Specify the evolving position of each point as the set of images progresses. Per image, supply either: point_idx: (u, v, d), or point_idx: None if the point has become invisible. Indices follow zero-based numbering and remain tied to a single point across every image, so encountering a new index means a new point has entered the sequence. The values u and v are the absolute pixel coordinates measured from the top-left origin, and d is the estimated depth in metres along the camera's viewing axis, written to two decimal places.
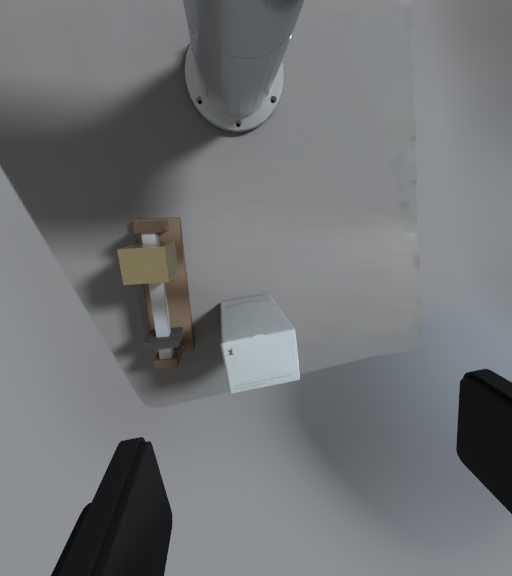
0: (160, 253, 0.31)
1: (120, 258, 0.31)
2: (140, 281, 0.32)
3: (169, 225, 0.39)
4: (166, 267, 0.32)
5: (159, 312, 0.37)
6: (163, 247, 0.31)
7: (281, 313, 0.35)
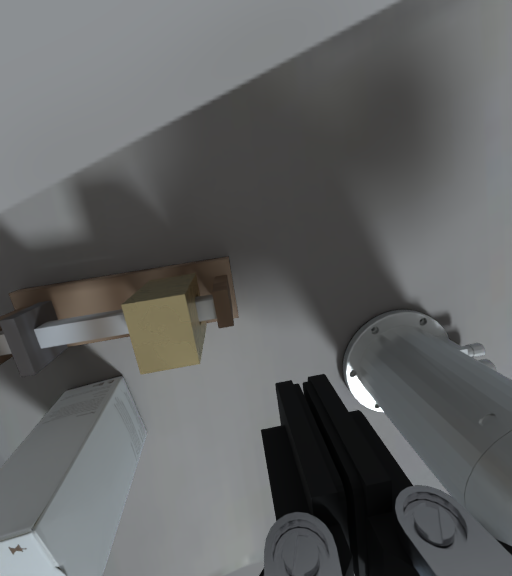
0: (187, 359, 0.19)
1: (169, 299, 0.18)
2: (133, 331, 0.18)
3: None
4: (165, 368, 0.19)
5: (84, 331, 0.22)
6: (198, 362, 0.19)
7: (118, 522, 0.23)
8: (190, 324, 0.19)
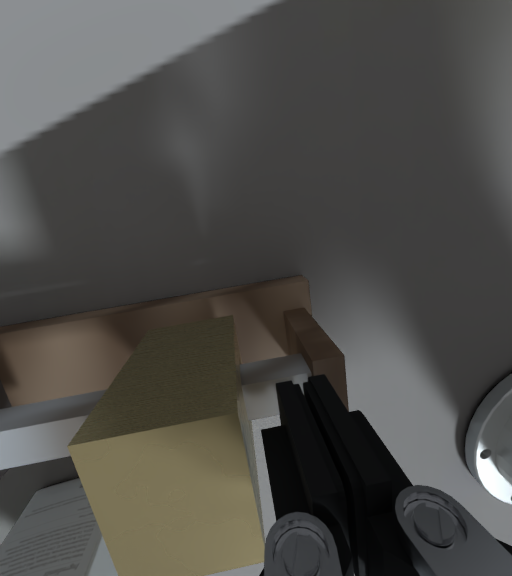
0: (239, 554, 0.08)
1: (197, 427, 0.07)
2: (103, 506, 0.07)
3: None
4: (184, 574, 0.08)
5: (49, 442, 0.11)
6: (263, 557, 0.08)
7: None
8: (249, 480, 0.07)
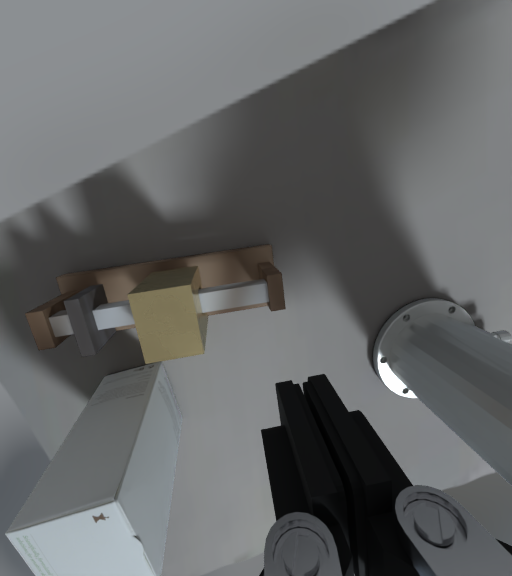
0: (192, 349, 0.20)
1: (175, 290, 0.18)
2: (139, 321, 0.19)
3: None
4: (170, 358, 0.20)
5: None
6: (202, 352, 0.20)
7: (170, 500, 0.23)
8: (195, 314, 0.19)
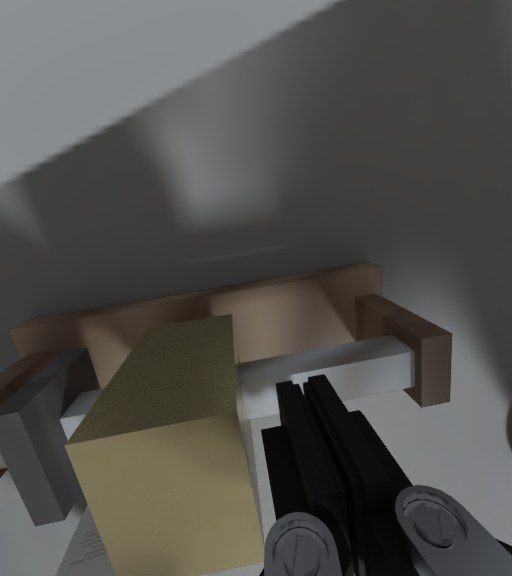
0: (238, 554, 0.08)
1: (196, 426, 0.07)
2: (101, 505, 0.07)
3: None
4: (183, 574, 0.08)
5: None
6: (262, 556, 0.08)
7: None
8: (248, 480, 0.07)
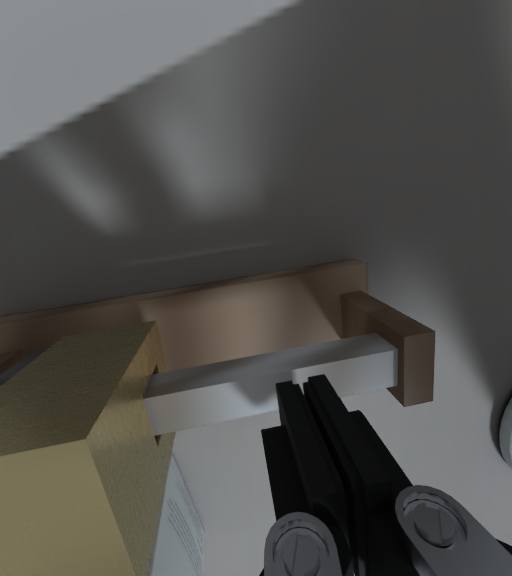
0: None
1: (39, 456, 0.06)
2: None
3: None
4: None
5: None
6: None
7: None
8: (110, 511, 0.07)
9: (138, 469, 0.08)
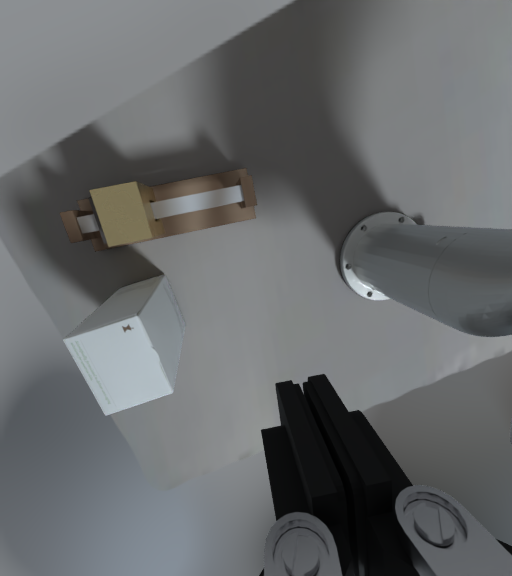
0: (143, 234, 0.26)
1: (124, 185, 0.25)
2: (100, 211, 0.25)
3: (245, 208, 0.35)
4: (126, 242, 0.26)
5: None
6: (151, 236, 0.26)
7: (178, 359, 0.30)
8: (142, 205, 0.25)
9: (149, 212, 0.27)
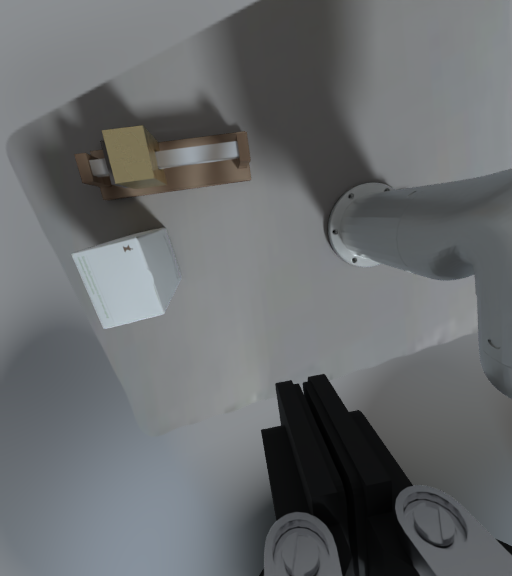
0: (146, 174, 0.29)
1: (132, 128, 0.28)
2: (109, 150, 0.29)
3: (242, 169, 0.39)
4: (131, 180, 0.30)
5: None
6: (153, 177, 0.30)
7: (171, 295, 0.34)
8: (147, 148, 0.29)
9: (153, 157, 0.31)
